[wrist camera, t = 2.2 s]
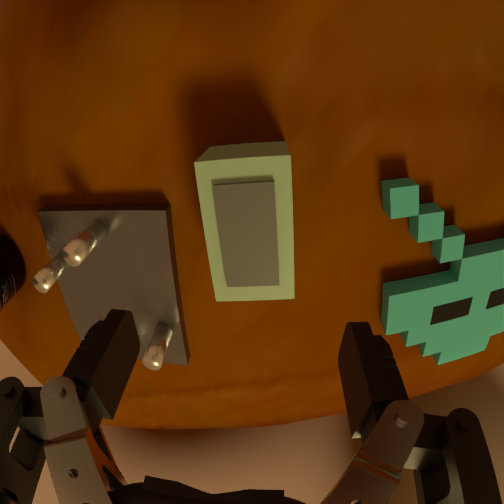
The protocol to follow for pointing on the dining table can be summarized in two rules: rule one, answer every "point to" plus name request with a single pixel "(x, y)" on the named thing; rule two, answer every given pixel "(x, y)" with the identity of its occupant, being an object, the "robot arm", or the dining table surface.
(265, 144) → the block
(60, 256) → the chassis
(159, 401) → the dining table surface
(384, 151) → the dining table surface
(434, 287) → the alien figure
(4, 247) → the supplement bottle
